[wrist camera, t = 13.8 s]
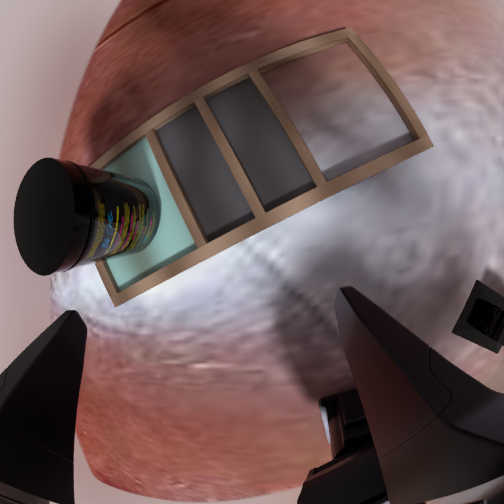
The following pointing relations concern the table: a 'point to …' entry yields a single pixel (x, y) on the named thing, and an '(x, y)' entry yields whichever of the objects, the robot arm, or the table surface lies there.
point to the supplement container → (81, 216)
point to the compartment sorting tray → (232, 166)
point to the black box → (482, 318)
